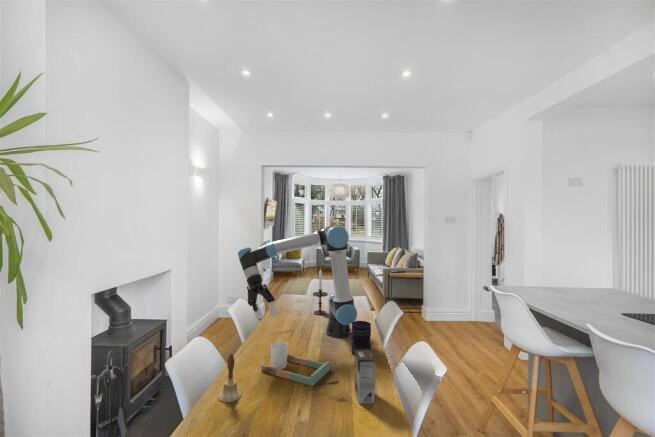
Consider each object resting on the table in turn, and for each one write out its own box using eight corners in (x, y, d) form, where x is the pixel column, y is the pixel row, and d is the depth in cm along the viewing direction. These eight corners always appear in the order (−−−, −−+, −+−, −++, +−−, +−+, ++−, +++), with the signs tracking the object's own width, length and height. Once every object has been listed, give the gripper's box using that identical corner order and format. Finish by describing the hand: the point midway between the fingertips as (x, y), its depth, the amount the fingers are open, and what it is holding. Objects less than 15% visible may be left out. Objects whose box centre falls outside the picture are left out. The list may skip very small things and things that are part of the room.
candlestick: (325, 316, 219) (326, 266, 220) (310, 315, 222) (311, 265, 222) (328, 311, 230) (329, 264, 230) (314, 310, 232) (315, 263, 233)
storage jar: (359, 347, 165) (360, 319, 165) (374, 353, 158) (375, 323, 158) (347, 353, 158) (347, 323, 158) (362, 359, 151) (362, 328, 151)
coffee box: (353, 390, 123) (354, 349, 123) (369, 390, 123) (370, 349, 124) (358, 404, 114) (358, 359, 114) (375, 403, 114) (375, 359, 115)
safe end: (289, 379, 131) (289, 370, 131) (308, 364, 145) (308, 356, 145) (312, 386, 126) (312, 376, 126) (329, 370, 140) (329, 361, 140)
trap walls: (276, 375, 134) (276, 369, 134) (295, 361, 148) (295, 356, 148) (289, 379, 131) (289, 373, 131) (308, 364, 145) (308, 359, 145)
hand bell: (242, 389, 123) (242, 349, 123) (240, 401, 115) (240, 358, 115) (220, 391, 121) (220, 350, 122) (216, 403, 113) (217, 359, 113)
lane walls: (261, 371, 138) (261, 365, 138) (281, 358, 152) (281, 352, 152) (276, 375, 134) (276, 369, 134) (295, 361, 148) (295, 356, 148)
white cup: (273, 371, 138) (273, 349, 138) (268, 364, 145) (268, 343, 145) (290, 368, 141) (290, 346, 141) (284, 361, 148) (284, 340, 148)
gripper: (261, 279, 172) (274, 316, 165) (232, 279, 150) (246, 322, 143) (272, 273, 171) (286, 310, 164) (244, 272, 148) (258, 315, 141)
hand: (267, 316), depth 153 cm, fingers open, 13 cm apart
